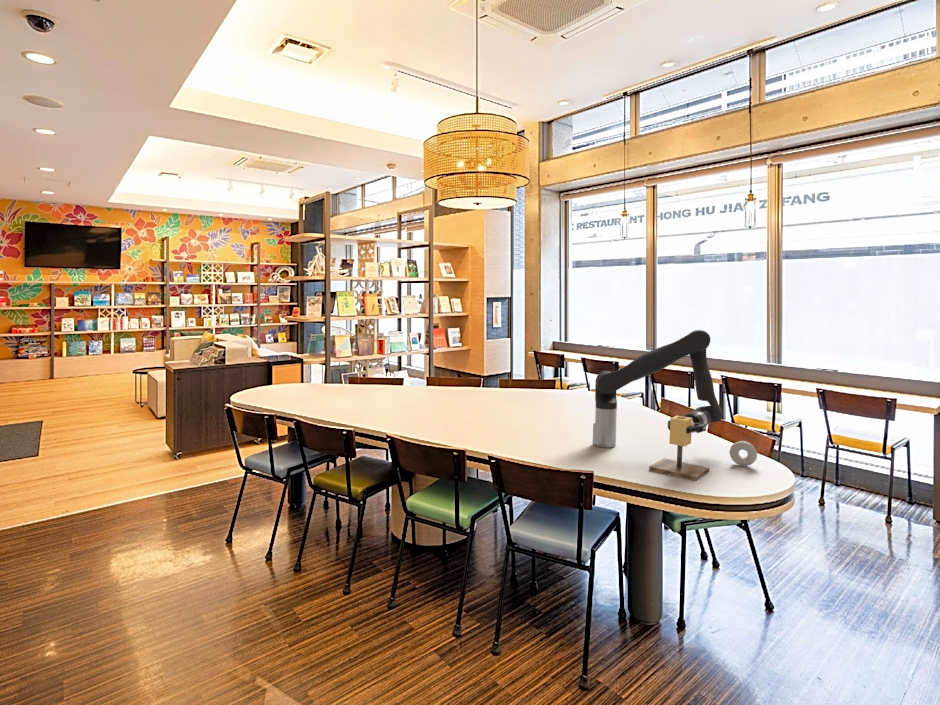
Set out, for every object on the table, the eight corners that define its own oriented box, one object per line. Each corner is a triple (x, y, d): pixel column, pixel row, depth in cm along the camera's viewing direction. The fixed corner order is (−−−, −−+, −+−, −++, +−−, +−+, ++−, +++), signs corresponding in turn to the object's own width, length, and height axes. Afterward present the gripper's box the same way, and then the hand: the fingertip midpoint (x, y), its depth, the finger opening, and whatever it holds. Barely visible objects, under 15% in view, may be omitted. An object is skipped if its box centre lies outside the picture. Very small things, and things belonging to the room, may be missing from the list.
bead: (669, 443, 215) (670, 418, 214) (675, 440, 219) (676, 415, 218) (685, 446, 211) (686, 420, 210) (690, 443, 215) (692, 417, 214)
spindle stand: (648, 470, 217) (650, 432, 215) (663, 461, 227) (665, 425, 226) (695, 480, 205) (697, 441, 203) (709, 471, 215) (711, 433, 214)
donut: (757, 467, 221) (758, 442, 220) (755, 469, 218) (757, 444, 217) (729, 462, 227) (731, 438, 226) (727, 464, 224) (729, 440, 223)
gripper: (677, 409, 229) (660, 416, 217) (713, 414, 220) (698, 422, 207) (676, 427, 230) (659, 435, 218) (712, 433, 221) (697, 442, 208)
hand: (678, 429), depth 212 cm, fingers closed on bead, 6 cm apart
